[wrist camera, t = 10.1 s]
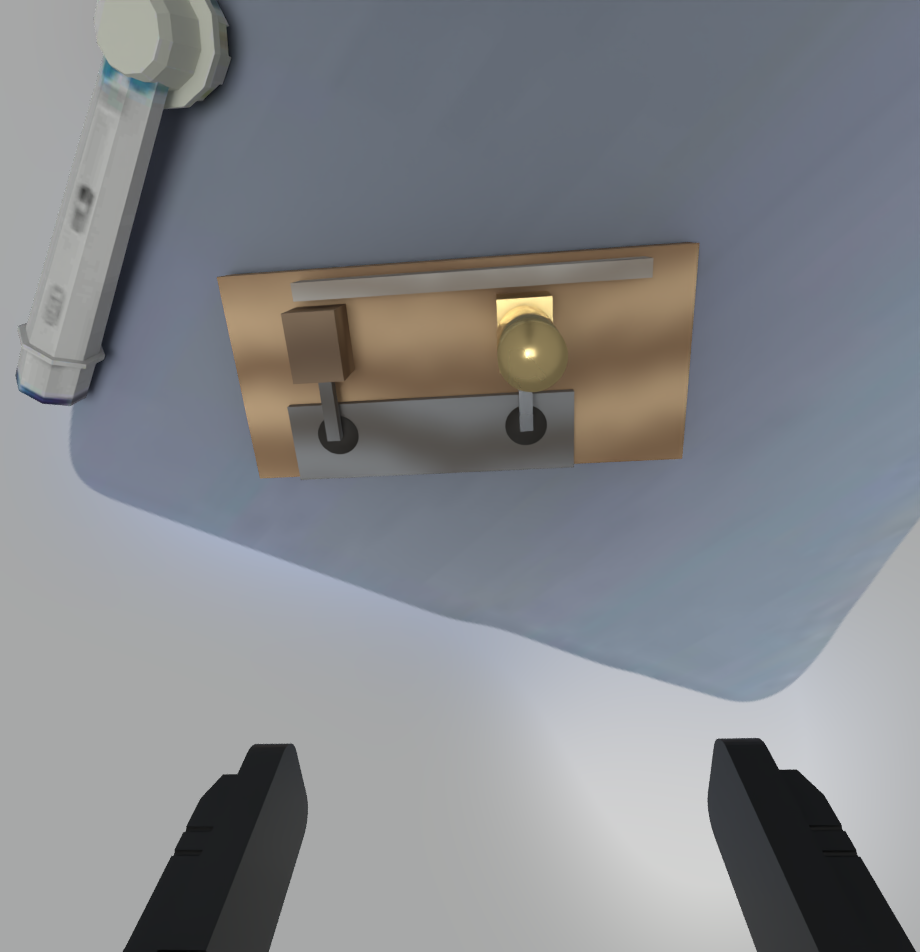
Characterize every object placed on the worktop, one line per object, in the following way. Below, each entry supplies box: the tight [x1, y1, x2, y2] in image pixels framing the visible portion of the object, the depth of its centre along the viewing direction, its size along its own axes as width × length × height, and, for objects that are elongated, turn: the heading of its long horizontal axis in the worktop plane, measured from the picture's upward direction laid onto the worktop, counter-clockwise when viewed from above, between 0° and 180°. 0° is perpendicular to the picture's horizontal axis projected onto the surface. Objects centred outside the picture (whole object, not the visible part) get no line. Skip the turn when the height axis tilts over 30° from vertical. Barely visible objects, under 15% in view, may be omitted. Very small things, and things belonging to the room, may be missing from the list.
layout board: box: [217, 242, 699, 480], centre depth 37 cm, size 13×28×4 cm, turn 94°
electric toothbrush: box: [15, 0, 231, 406], centre depth 34 cm, size 5×7×25 cm
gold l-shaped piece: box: [496, 291, 568, 432], centre depth 32 cm, size 8×3×9 cm, turn 4°
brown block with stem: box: [281, 304, 355, 441], centre depth 36 cm, size 8×3×3 cm, turn 4°
